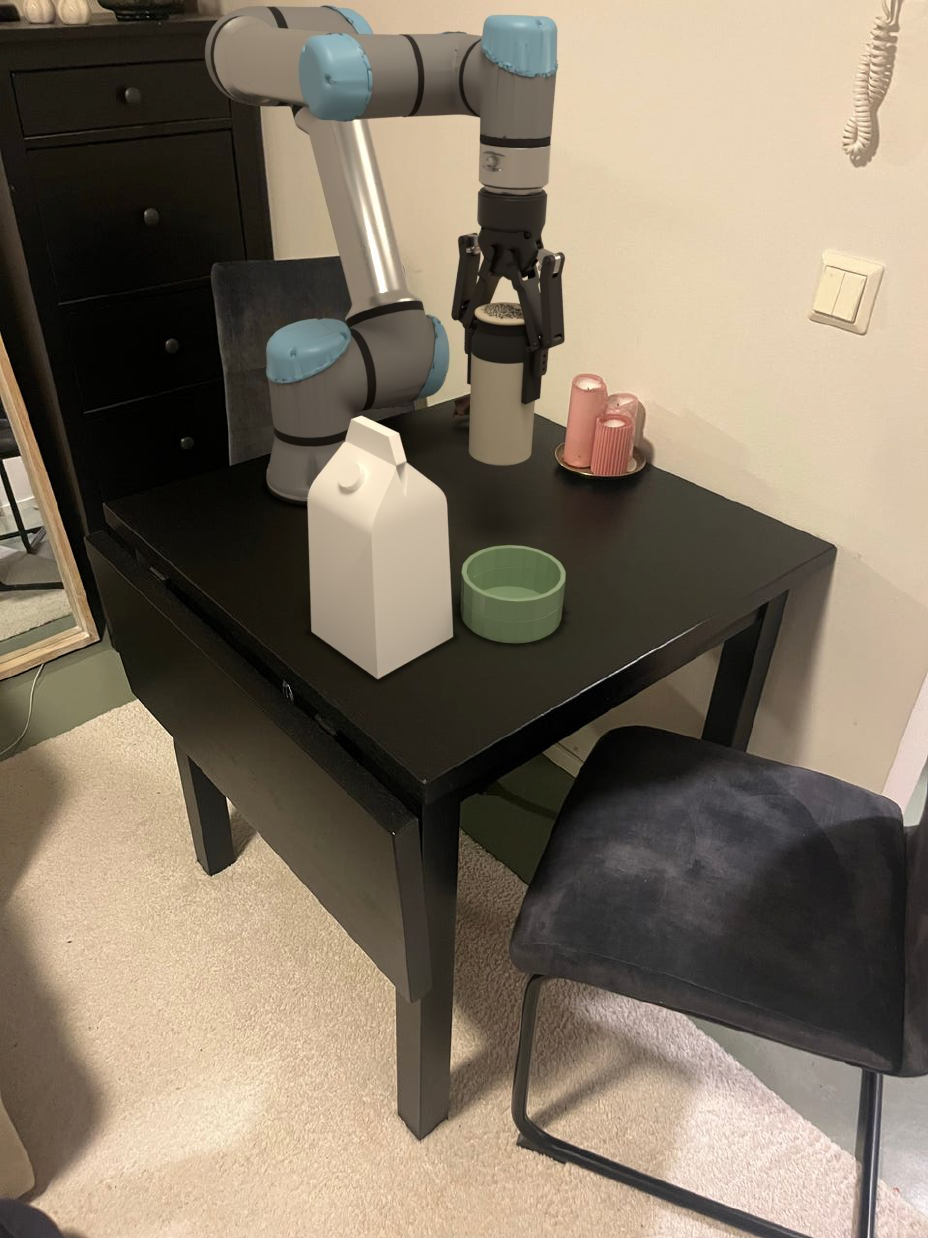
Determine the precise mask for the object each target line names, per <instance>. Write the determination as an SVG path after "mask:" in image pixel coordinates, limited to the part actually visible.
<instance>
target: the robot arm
mask: <svg viewBox="0 0 928 1238" xmlns="http://www.w3.org/2000/svg"><path fill="white" fill-rule="evenodd" d="M205 41H206V42H205V47H204V60H205V65H206V68H207V72H208V74H209V76H210V78H211V80H212V82H213V83H214V85H216V87H217V88H218V90H219V91H220V92H222V94H224V95H225V96H226V97H228V98H229V99H231V100H233V101H235V102H238V103H240V104H243V105H244V104H245V105H249V106H255V107H273V108H274V107H289V108H290V110H291V114H292V117H293V121H294V124H295V127H296V128H297V129H298V130H300V131H302V132H303V133H305V134H307V135H308V136H309V141H310V145H311V148H312V152H313V155H314V160H315V164H316V168H317V172H318V175H319V180H320V183H321V188H322V191H323V195H324V198H325V203H326V207H327V212H328V215H329V220H330V223H331V226H332V227H331V228H332V231H333V234H334V239H335V242H336V246H337V250H338V255H339V259H340V263H341V266H342V271H343V275H344V279H345V282H346V286H347V290H348V294H349V298H350V303H351V307H350V309H349V311H348V313H347V314H346V316H345V317H344V318H345V319H344V320H345V322H344V321H342V320H341V319H336V318H328V317H323V318H321V319H318V318H308V319H303V320H299V321H296V322H293V323H289V324H287V325H285V326H283V327H281V328H280V329H277V330H276V331H275V332H274V333H273V335H272V336H271V337H270V338H269V339H268V340H267V343H266V347H265V354H266V366H265V373H266V377H267V381H268V390H269V398H270V399H269V400H270V407H271V408H270V409H271V416H272V427H273V435H274V436H273V444H272V448H271V453H270V459H269V463H268V464H267V469H266V486H267V487H266V488H267V490H268V492H269V493H270V494H271V495H272V496H273V497H274V498H276V499H278V500H279V501H281V502H285V503H287V504H291V505H295V506H303V507H308V493H309V490H310V487H311V485H312V484H313V482H314V480H315V479H316V478H317V476H318V475H319V474H320V472H321V471H322V470H323V468H324V467H325V466H326V465H327V463H328V462H329V461H330V459H331V458H332V457H333V456H334V454H335V453H336V452H337V451H338V449H339V448H340V447H341V445H342V444H343V443H344V442H346V436H347V432H348V429H349V425H350V422H351V419H353V418H355V415H354V414H356V413H361V412H365V411H369V410H375V409H379V408H385V407H389V406H394V405H398V404H404V403H414V402H416V401H418V400H422V399H425V398H428V397H432V396H434V395H436V393H438V392H439V391H440V390H441V388H442V387H443V385H444V383H445V382H446V379H447V375H448V372H449V368H450V344H449V343H450V342H449V337H448V334H447V331H446V329H445V326H444V324H442V321H441V320H440V319H439V318H438V317H437V316H436V315H432V314H426V311H425V307H424V303H423V299H422V298H420V297H418V296H417V295H415V294H413V292H411V290H410V289H409V285H408V281H407V277H406V272H405V268H404V264H403V260H402V256H401V251H400V248H399V243H398V240H397V236H396V231H395V227H394V222H393V219H392V215H391V210H390V206H389V202H388V197H387V194H386V189H385V186H384V182H383V181H384V180H383V178H382V173H381V169H380V165H379V161H378V157H377V153H376V149H375V144H374V141H373V135H372V132H371V128H370V123H369V120H373V119H374V120H375V119H387V118H399V117H400V118H413V117H417V118H418V117H439V116H468V117H475V118H479V153H478V154H479V155H478V157H479V159H478V182H479V183H480V184H481V185H482V187H480V189H479V190H478V191H477V212H476V213H477V214H476V216H477V217H476V220H477V221H476V222H477V224H478V226H479V227H480V230H479V232H471V233H468V234H463V235H459V236H458V238H457V246H458V247H457V248H458V256H459V258H458V264H457V272H456V279H455V286H454V293H453V299H452V304H451V305H452V306H451V313H450V316H451V319H452V320H453V321H458V322H459V323H461V325H462V327H463V329H464V336H463V337H464V339H463V340H464V345H463V350H464V354H465V355H467V361H466V362H467V367H466V369H467V370H466V384H467V385H469V386H471V354H472V337H473V335H474V333H475V331H476V329H477V328H478V321H477V317H476V316H475V310H476V309H477V308H478V307H480V306H482V305H485V304H489V303H492V300H493V297H494V295H495V293H496V290H497V288H498V285H499V283H500V281H501V279H502V278H504V279H506V280H507V281H510V282H511V286H512V289H513V290H514V291H515V292H516V294H517V298H518V302H519V304H520V306H521V310H522V314H523V318H524V322H525V326H526V330H527V334H528V338H529V342H530V347H527V348H525V349H524V364H523V380H522V396H521V403H523V404H528V403H531V402H533V401H535V402H536V401H537V400H540V399H541V394H542V393H541V391H542V380H543V379H542V378H543V376H545V375H546V374H547V371H548V363H549V351H550V349H552V348H555V347H557V346H560V345H563V344H564V343H565V340H566V339H565V318H564V298H563V297H564V295H563V279H562V278H563V277H562V275H563V270H564V266H565V261H566V256H565V253H563V252H562V251H558V252H556V253H554V252H552V251H550V250H548V249H546V248H545V246H544V242H543V238H542V234H543V230H544V228H545V225H546V221H547V206H548V193H547V192H546V190H545V189H544V187H546V186H548V184H549V182H550V167H551V149H552V148H551V147H552V144H551V142H552V133H553V132H552V131H553V120H554V119H553V118H554V107H555V106H554V105H555V95H556V84H557V72H558V69H559V63H558V27H557V24H556V22H555V20H553V19H552V18H551V17H549V16H544V15H525V14H523V15H522V14H491V15H489V16H488V17H486V18H485V20H484V22H483V26H482V35H480V34H479V35H478V34H472V33H471V34H470V33H467V32H466V31H461V30H458V31H449V30H448V31H442V32H438V33H399V34H382V33H379V34H378V33H374V31H373V29H372V27H371V26H370V24H369V22H368V20H366V18H365V17H364V16H363V15H362V14H360V13H359V12H357V11H356V10H354V9H352V8H347V7H338V6H337V7H336V6H334V5H330V4H324V5H320V6H276V5H275V6H273V5H271V6H265V5H250V6H244V7H241V8H237V9H236V8H235V9H234V10H231V11H229V12H228V13H226V14H225V15H223V16H221V17H220V18H219V19H218V20H217V21H216V22H215V24H213V25H212V27H211V29H210V31H209V33H208V35H207V38H206V40H205ZM481 256H482V257H483V258H482V261H481ZM537 264H538V266H537ZM538 271H539V272H538ZM525 278H527V279H525Z"/></svg>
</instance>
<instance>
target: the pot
mask: <svg viewBox="0 0 928 1238" xmlns="http://www.w3.org/2000/svg"><path fill="white" fill-rule="evenodd" d="M566 572H567V571H566V570H565V568H564V566H563V564H562V563H561V562H560V561H559V560H558V559H557V558H556V557H554V556H553V555H552V554H549V553H548V552H545V551H543V550H542V549H541V550H540V549H537V548H534V547H529V546H527V545H526V546H524V545H514V544H506V545H495V546H490V547H487V548H483V549H480V550H478V551H476V552H474V553H473V554H471V555H469V556H468V558H467V559H466V560H465V561H464V562H463V563H462V568H461V574H460V575H461V576H460V577H461V578H460V615H461V619H462V621H463V623H464V624H465V626H466V627H467V628H468V629H469V630H470V631H472V632H473V633H474V634H475V635H477V636H480V637H482V638H485V639H487V640H490V641H493V642H499V643H505V644H525V643H531V642H535V641H539V640H542V639H544V638H546V637H548V636H549V635H551V634H552V633H554V632H555V631H556V630H557V628H558V627H559V626H560V624H561V621H562V616H563V606H564V597H565V588H566V576H567V575H566Z"/></svg>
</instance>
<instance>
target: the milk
mask: <svg viewBox="0 0 928 1238" xmlns="http://www.w3.org/2000/svg"><path fill="white" fill-rule="evenodd" d="M448 516H449V515H448V501H447V496H446V495H445V493H444V491H443V490H442V489H441V487H439V486H438V485H437V484H436V483H435V482H433V481H431V480H430V479H429V478H427V476H425V475H424V474H423V473H421V471H419V470H418V469H416V468H414V467H413V466H412V465H411V464H410V463H408V462H407V458H406V454H405V450H404V447H403V443H402V439H401V435H400V433H399V432H397V431H395V430H393V429H391V428H389V427H387V426H385V425H383V424H380V423H378V422H376V421H374V420H371V419H369V418H368V417H365V416H363V415H359V416H357V417H354V418H353V419H351V422H350V425H349V429H348V432H347V436H346V442H344V443H343V444H342V445H341V447H340V448H339V449H338V451H337V452H336V453H335V454H334V456H333V457H332V458H331V459H330V461H329V462H328V463H327V465H326V466H325V467H324V468H323V470H322V471H321V472H320V474H319V475H318V476H317V478H316V479H315V480H314V482H313V484H312V485H311V487H310V490H309V493H308V506H307V528H308V557H309V558H308V563H309V592H310V594H309V596H310V623H311V625H310V626H311V631H310V632H311V633H313V634H314V635H316V636H317V637H318V638H319V639H321V640H322V641H323V642H325V643H326V644H328V645H330V646H331V647H332V648H333V649H335V650H336V651H338V652H339V653H340V654H342V655H343V656H344V657H346V658H347V659H349V660H350V661H351V662H353V663H354V664H356V665H357V666H358V667H359V668H361V669H363V671H366V672H367V673H368V674H370V675H371V676H373V677H374V678H375V679H377V680H379V679H381V678H382V677H384V676H386V675H389V674H390V673H392V672H393V671H395V670H397V669H398V668H400V667H402V666H404V665H405V664H407V663H409V662H411V661H413V660H415V659H416V658H418V657H420V656H421V655H423V654H425V653H427V652H429V651H431V650H432V649H434V648H436V647H437V646H440V645H441V644H443V643H445V642H447V641H449V640H450V639H452V638H454V625H453V624H454V623H453V604H452V603H453V602H452V584H451V583H452V582H451V581H452V580H451V562H450V561H451V560H450V537H449V519H448V518H449V517H448Z"/></svg>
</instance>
